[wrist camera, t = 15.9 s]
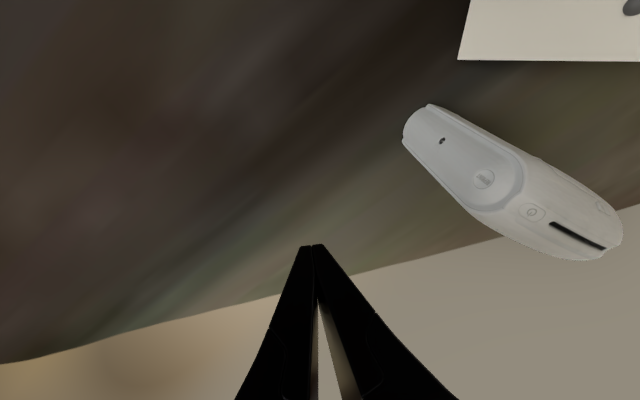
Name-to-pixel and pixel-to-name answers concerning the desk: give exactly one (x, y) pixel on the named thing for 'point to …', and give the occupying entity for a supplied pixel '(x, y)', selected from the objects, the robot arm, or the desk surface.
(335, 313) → the robot arm
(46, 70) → the desk surface
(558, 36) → the domino
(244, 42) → the desk surface
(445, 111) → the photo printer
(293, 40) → the desk surface
